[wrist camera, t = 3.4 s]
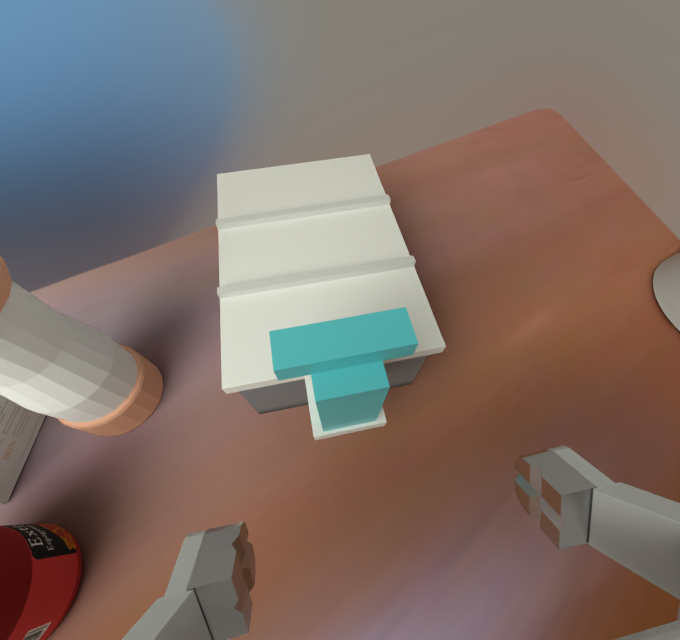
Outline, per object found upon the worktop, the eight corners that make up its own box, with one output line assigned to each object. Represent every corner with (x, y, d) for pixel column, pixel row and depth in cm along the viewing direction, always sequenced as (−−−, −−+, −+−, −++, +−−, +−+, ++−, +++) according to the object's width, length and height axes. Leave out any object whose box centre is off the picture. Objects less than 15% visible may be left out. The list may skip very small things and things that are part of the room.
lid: (368, 163, 33) (376, 61, 25) (463, 408, 21) (533, 354, 13) (220, 183, 32) (182, 82, 24) (228, 458, 19) (155, 429, 12)
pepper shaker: (88, 365, 31) (-205, 205, 14) (166, 352, 32) (-29, 185, 15) (71, 444, 28) (-342, 353, 11) (160, 428, 28) (-104, 319, 12)
